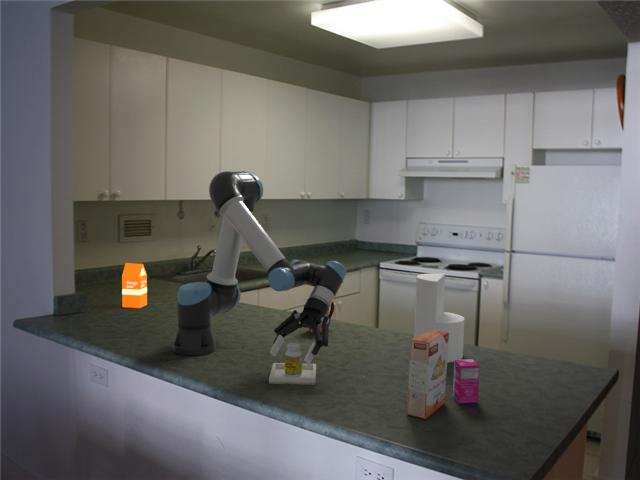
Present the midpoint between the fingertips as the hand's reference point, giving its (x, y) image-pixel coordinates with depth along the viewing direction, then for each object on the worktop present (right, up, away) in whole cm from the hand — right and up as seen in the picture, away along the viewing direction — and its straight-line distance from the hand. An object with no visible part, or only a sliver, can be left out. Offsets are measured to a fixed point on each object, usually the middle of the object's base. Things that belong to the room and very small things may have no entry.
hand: (289, 358), depth 188 cm
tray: (+1, -6, +3) cm, 7 cm away
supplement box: (+51, -9, -15) cm, 54 cm away
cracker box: (+39, -10, -22) cm, 46 cm away
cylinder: (+52, -4, +29) cm, 59 cm away
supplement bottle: (+1, -6, +3) cm, 6 cm away
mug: (+10, 0, +58) cm, 59 cm away
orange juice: (-77, +6, +96) cm, 123 cm away
